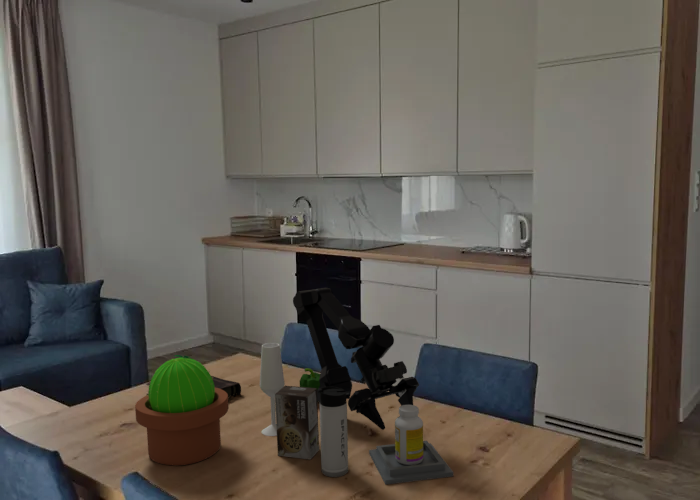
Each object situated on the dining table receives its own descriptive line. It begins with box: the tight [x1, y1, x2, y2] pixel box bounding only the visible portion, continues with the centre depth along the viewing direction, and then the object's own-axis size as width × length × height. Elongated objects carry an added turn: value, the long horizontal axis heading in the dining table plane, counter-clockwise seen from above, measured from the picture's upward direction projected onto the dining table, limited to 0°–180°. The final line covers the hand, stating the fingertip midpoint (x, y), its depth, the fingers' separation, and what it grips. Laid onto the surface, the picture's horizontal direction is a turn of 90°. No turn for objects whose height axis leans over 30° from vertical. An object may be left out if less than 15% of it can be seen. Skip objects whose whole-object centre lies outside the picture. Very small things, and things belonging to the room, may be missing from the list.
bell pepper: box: [299, 367, 321, 403], centre depth 192 cm, size 8×8×10 cm
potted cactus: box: [134, 354, 229, 466], centre depth 157 cm, size 22×22×25 cm
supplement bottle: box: [394, 404, 424, 465], centre depth 147 cm, size 7×7×13 cm
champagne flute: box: [259, 342, 286, 437], centre depth 168 cm, size 7×7×24 cm
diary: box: [145, 375, 242, 399], centre depth 199 cm, size 19×25×5 cm
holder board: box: [368, 440, 454, 485], centre depth 148 cm, size 16×16×2 cm
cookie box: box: [275, 385, 320, 460], centre depth 155 cm, size 9×6×16 cm
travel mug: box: [318, 387, 349, 478], centre depth 144 cm, size 6×7×20 cm
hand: (399, 424), depth 150 cm, fingers open, 9 cm apart
